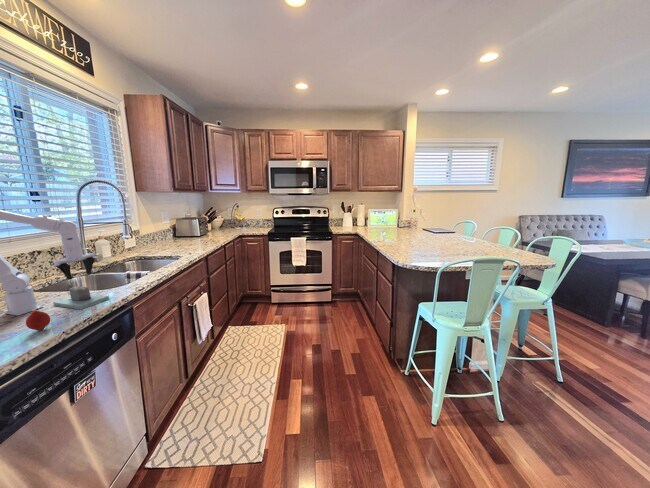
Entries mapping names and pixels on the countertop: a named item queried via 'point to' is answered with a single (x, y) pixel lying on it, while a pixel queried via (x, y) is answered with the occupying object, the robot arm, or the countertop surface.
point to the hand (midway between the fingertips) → (79, 276)
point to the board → (81, 302)
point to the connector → (79, 293)
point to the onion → (37, 320)
